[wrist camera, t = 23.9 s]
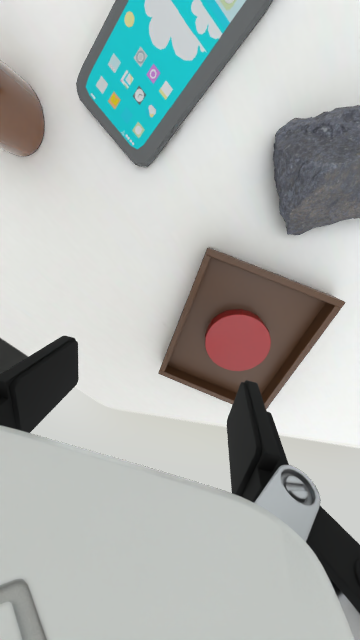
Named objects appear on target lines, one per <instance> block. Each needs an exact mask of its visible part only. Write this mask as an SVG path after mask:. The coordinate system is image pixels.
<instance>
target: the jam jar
mask: <svg viewBox="0 0 360 640" xmlns="http://www.w3.org/2000/svg"><path fill="white" fill-rule="evenodd" d="M43 134H44V116H43V111H42V107H41V105H40V102H39V100H38V97H37V95H36V94H35V92H34V90H33V89H32V88H31V86H30V85H29V84H28V83H27V82H26V81H25V80H24V79H23V78H22V77H20V76H19V75H18V74H17V73H16V72H14V71H13V70H12V69H11V68H10V67H8V66H7V65H6V64H5V63H4V62H2V61H1V60H0V149H2V150H5V151H7V152H9V153H12V154H14V155H17V156H28V155H31V154H32V153H34V152H35V151H36V150H37V149H38V147H39V146H40V144H41V142H42V139H43Z"/></svg>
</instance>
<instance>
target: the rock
mask: <svg viewBox="0 0 360 640" xmlns="http://www.w3.org/2000/svg"><path fill="white" fill-rule="evenodd" d="M275 137H276V138H275V144H274V155H273V161H274V167H275V169H274V172H275V177H274V178H275V181H276V188H277V192H278V194H279V197H280V202H279V208H280V214H281V215H282V217H283V218H284V220H285V222H286V228H287V234H293V235H300V234H303V233H304V232H306V231H308V230H310V229H312V228H315V227H320V226H324V225H330V224H333V223H336V222H338V221H341V220H346V219H351V218H354V219H355V218H360V106H358V105H357V106H354V107H343V108H336V109H334V110H333V111H330V112H323V113H322V114H320V115H318V116H316V117H314V118H312V117H310V118H307V119H299V118H294V119H293V120H291V121H290V122H288V123H287V124H286V125H285V126H283V127H282V128H280V129H279V130H278V131H277V133H276V135H275Z"/></svg>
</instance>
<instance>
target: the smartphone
mask: <svg viewBox="0 0 360 640" xmlns="http://www.w3.org/2000/svg"><path fill="white" fill-rule="evenodd" d="M271 2H272V0H116V1H115V3H114V5H113V7H112V9H111V11H110V13H109V15H108V17H107V19H106V21H105V23H104V25H103V27H102V29H101V31H100V33H99V34H98V36H97V38H96V40H95V42H94V44H93V46H92V48H91V50H90V52H89V54H88V56H87V58H86V60H85V62H84V64H83V66H82V68H81V71H80V73H79V76H78V79H77V83H76V85H77V92H78V95H79V98H80V100H81V102H82V103H83V104H84V105H85V106H86V107H87V109H88V110H89V111H90V112H91V113H92V115H93V116H94V117H95V118H96V119H97V120H98V122H99V123H100V124H101V125H102V126H103V127H104V129H105V130H106V131H107V132H108V133H109V135H110V136H111V137H112V138H113V139H114V140H115V142H116V143H117V144H118V145H119V146H120V148H121V149H122V150H123V151H124V152H125V153H126V155H127V156H128V157H129V158H130V159H131V161H132V162H133V163H134V164H136V165H139V166H148V165H149V164H151V163H152V162H153V160H154V159H155V158H156V156H157V155H158V154H159V153H160V151H161V150H162V149H163V147H164V146H165V145H166V143H167V142H168V140H169V139H170V138H171V136H172V135H173V134H174V133H175V131H176V130H177V129H178V127H179V126H180V125H181V123H182V122H183V120H184V119H185V118H186V117H187V115H188V114H189V113H190V111H191V110H192V109H193V107H194V106H195V105H196V103H197V102H198V101H199V99H200V98H201V97H202V95H203V94H204V93H205V91H206V90H207V89H208V87H209V86H210V85H211V83H212V82H213V81H214V79H215V78H216V77H217V75H218V74H219V73H220V71H221V70H222V69H223V67H224V66H225V65H226V63H227V62H228V61H229V60H230V58H231V57H232V56H233V54H234V53H235V52H236V50H237V49H238V48H239V46H240V45H241V44H242V42H243V41H244V40H245V38H246V37H247V36H248V34H249V33H250V32H251V30H252V29H253V28H254V26H255V25H256V24H257V22H258V21H259V20H260V18H261V17H262V16H263V14H264V13H265V12H266V10H267V9H268V7H269V6H270V4H271Z"/></svg>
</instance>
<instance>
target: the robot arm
mask: <svg viewBox="0 0 360 640" xmlns="http://www.w3.org/2000/svg"><path fill="white" fill-rule="evenodd" d="M77 382H78V342H77V341H76V340H75V338H72V337H68V336H62V337H60V338H59V339H57V340H55V341H54V342H52V343H50V344H49V345H47V346H46V347H44V348H42V349H41V350H39V351H37V352H36V353H34V354H32V355H31V356H29V357H28V358H26V359H24V360H23V361H21V362H19V363H18V364H16V365H15V366H13V367H11V368H10V369H8V370H6V371H5V372H3V373H1V374H0V640H360V545H359V544H358V543H357V542H356V541H355V540H354V539H353V538H352V537H351V536H350V535H349V534H348V533H347V532H346V531H345V530H344V529H343V528H342V527H341V526H340V525H339V524H338V523H337V522H336V521H335V520H334V519H333V518H332V517H331V516H330V515H329V514H328V513H327V512H326V511H325V510H324V509H323V508H322V507H321V506H320V501H321V500H320V496H319V492H318V490H317V488H316V486H315V485H314V483H313V482H312V481H311V479H310V478H309V477H308V476H307V475H306V474H305V473H304V472H302V471H301V470H299V469H298V468H296V467H293V466H291V465H289V464H288V461H287V459H286V456H285V453H284V450H283V447H282V444H281V441H280V438H279V435H278V432H277V429H276V426H275V423H274V420H273V418H272V415H271V413H269V412H266V408H265V405H264V402H263V399H262V396H261V393H260V390H259V387H258V384H257V383H256V382H252V381H248V380H246V381H245V382H241V384H240V386H239V389H238V392H237V395H236V397H235V400H234V403H233V405H232V408H231V411H230V414H229V416H228V420H227V433H228V447H229V460H230V473H231V486H232V493H229V492H227V491H224V490H221V489H218V488H215V487H212V486H209V485H205V484H202V483H199V482H196V481H193V480H190V479H186V478H183V477H180V476H176V475H173V474H170V473H166V472H163V471H159V470H156V469H153V468H149V467H146V466H142V465H139V464H136V463H132V462H129V461H125V460H122V459H119V458H115V457H111V456H108V455H104V454H101V453H98V452H94V451H91V450H87V449H84V448H80V447H77V446H73V445H70V444H66V443H63V442H59V441H56V440H52V439H49V438H45V437H41V436H38V435H35V434H31V433H30V432H31V431H32V430H33V429H34V428H35V427H36V426H37V425H38V424H39V423H40V422H41V421H42V420H43V419H44V417H45V416H46V415H47V414H48V413H49V412H50V411H51V410H52V409H53V408H54V407H55V406H56V405H57V404H58V403H59V402H60V401H61V400H62V399H63V398H64V397H65V396H66V395H67V394H68V393H69V391H71V390H72V388H74V387H75V386H76V384H77Z"/></svg>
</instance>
